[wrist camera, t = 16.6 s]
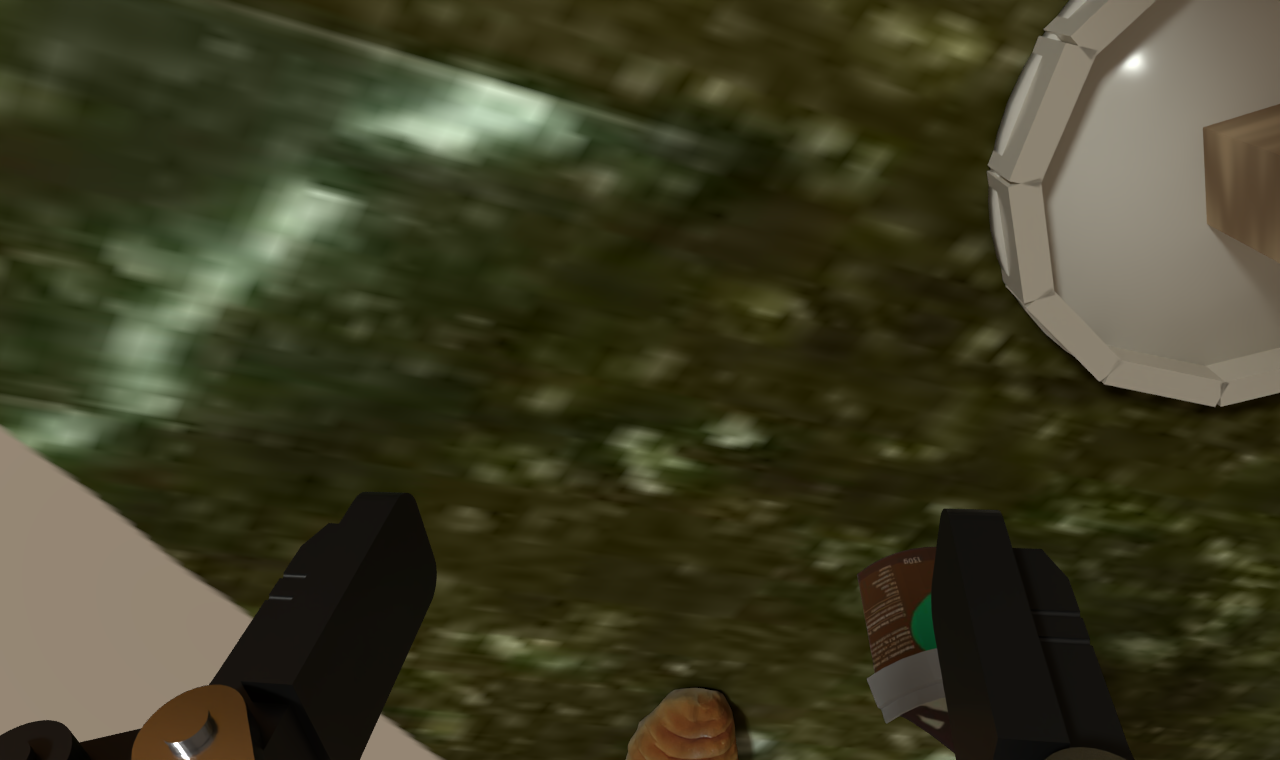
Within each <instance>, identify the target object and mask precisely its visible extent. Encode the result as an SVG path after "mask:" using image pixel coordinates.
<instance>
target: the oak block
mask: <svg viewBox="0 0 1280 760" xmlns="http://www.w3.org/2000/svg"><path fill="white" fill-rule="evenodd" d="M1203 145H1204V169H1205V192H1206V215H1207V224H1208V225H1210V226H1212V227H1214V228H1215V229H1217V230H1219V231H1221V232H1223V233H1225V234H1226V235H1228V236H1230V237H1232V238H1234V239H1236V240H1238V241H1239V242H1241V243H1243V244H1245V245H1247V246H1249V247H1251V248H1252V249H1254V250H1256V251H1258V252H1260V253H1262V254H1263V255H1265V256H1267V257H1269V258H1271V259H1273V260H1275V261H1276V262H1278V263H1280V104H1278V105H1274V106H1271V107H1268V108H1265V109H1261V110H1258V111H1255V112H1252V113H1248V114H1245V115H1242V116H1238V117H1235V118H1232V119H1229V120H1225V121H1222V122H1219V123H1216V124H1212V125H1209V126H1206V127H1203Z"/></svg>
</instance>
